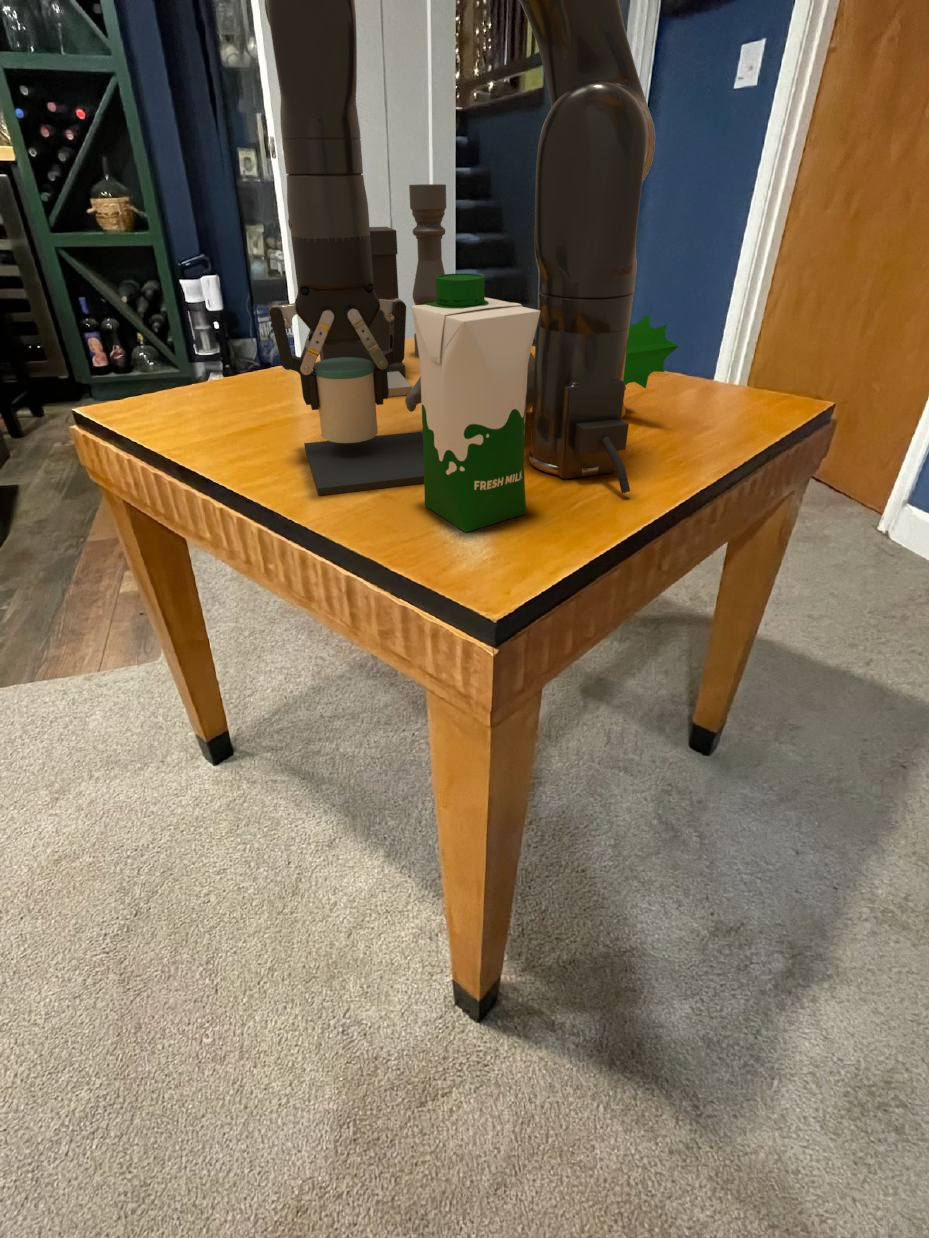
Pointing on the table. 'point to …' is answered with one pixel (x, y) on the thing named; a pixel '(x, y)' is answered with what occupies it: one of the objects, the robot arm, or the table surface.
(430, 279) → the candle holder
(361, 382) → the container
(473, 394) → the fresh milk carton
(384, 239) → the coffee maker
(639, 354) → the ornament
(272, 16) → the robot arm
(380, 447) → the mat
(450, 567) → the table surface
